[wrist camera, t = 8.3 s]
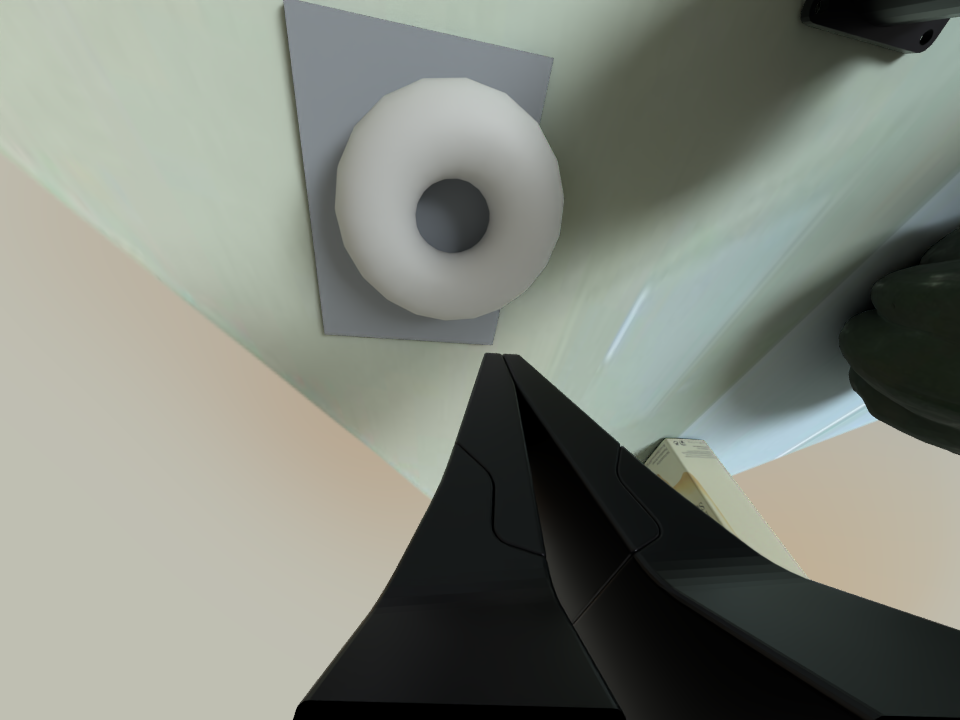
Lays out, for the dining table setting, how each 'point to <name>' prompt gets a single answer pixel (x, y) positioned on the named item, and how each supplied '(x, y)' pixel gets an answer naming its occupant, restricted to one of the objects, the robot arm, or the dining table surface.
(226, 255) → the dining table surface
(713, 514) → the skincare box
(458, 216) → the mat
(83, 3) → the dining table surface
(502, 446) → the robot arm
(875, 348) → the squash
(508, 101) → the donut
